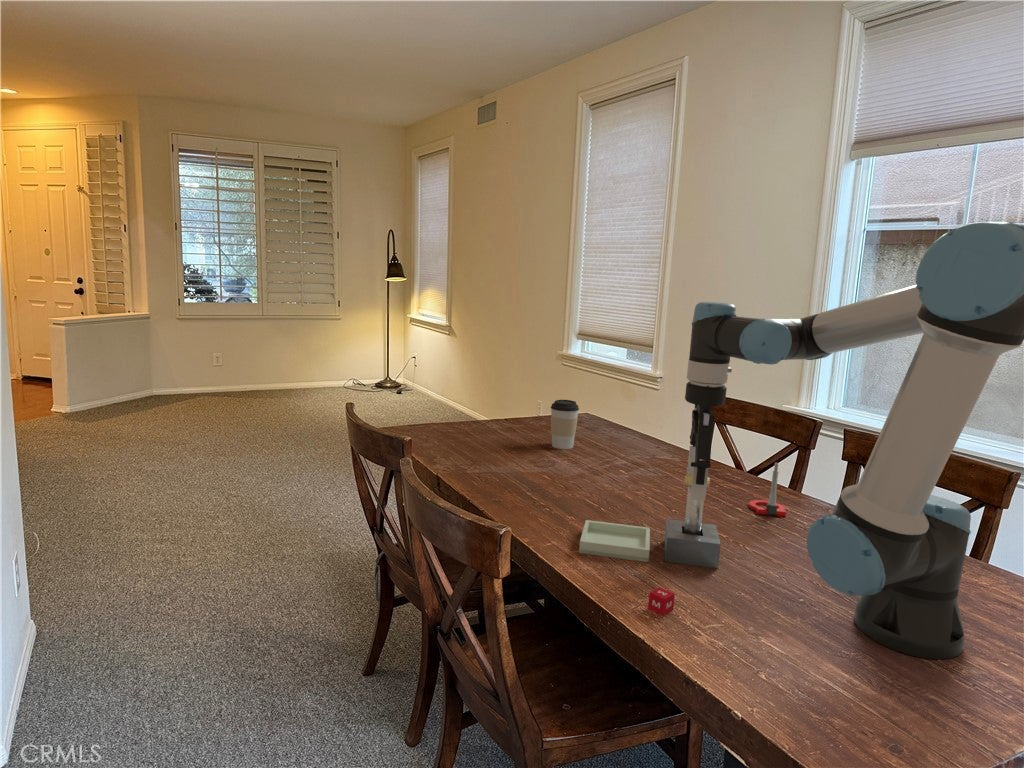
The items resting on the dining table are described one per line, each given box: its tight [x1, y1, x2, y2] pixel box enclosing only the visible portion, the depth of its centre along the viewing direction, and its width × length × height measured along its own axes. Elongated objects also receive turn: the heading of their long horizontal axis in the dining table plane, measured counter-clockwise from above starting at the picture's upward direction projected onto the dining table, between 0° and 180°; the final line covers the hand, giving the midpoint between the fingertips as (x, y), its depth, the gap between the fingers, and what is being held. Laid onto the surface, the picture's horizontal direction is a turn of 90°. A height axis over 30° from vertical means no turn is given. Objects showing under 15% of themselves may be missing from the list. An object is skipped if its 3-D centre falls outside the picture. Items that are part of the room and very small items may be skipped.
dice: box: [647, 586, 675, 616], centre depth 109 cm, size 3×3×3 cm
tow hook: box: [748, 462, 787, 517], centre depth 158 cm, size 8×13×9 cm
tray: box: [578, 519, 651, 563], centre depth 133 cm, size 12×14×2 cm
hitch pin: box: [684, 473, 711, 536], centre depth 129 cm, size 5×5×16 cm
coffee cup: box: [550, 399, 580, 450], centre depth 206 cm, size 9×9×15 cm
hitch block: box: [663, 518, 722, 569], centre depth 130 cm, size 10×10×5 cm
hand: (695, 487), depth 129 cm, fingers open, 13 cm apart
